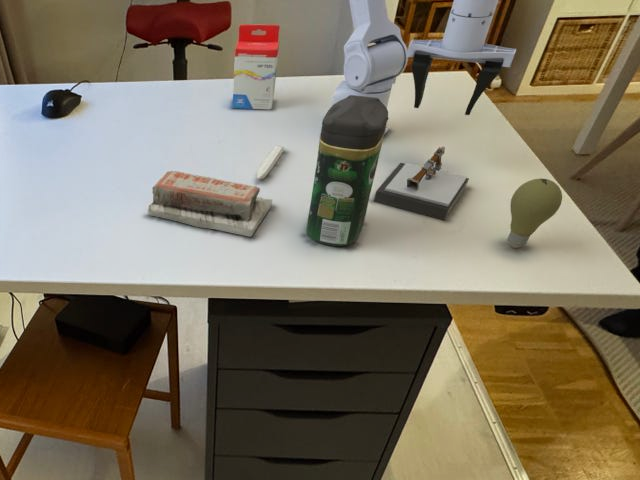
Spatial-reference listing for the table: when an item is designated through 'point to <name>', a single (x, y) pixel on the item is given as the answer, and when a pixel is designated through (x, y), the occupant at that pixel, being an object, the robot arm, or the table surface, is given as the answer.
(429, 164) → the wooden post with brackets
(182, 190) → the packaged product
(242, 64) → the ink box
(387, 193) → the scale
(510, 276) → the table surface
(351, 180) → the coffee jar
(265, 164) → the pen
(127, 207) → the table surface
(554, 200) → the light bulb
